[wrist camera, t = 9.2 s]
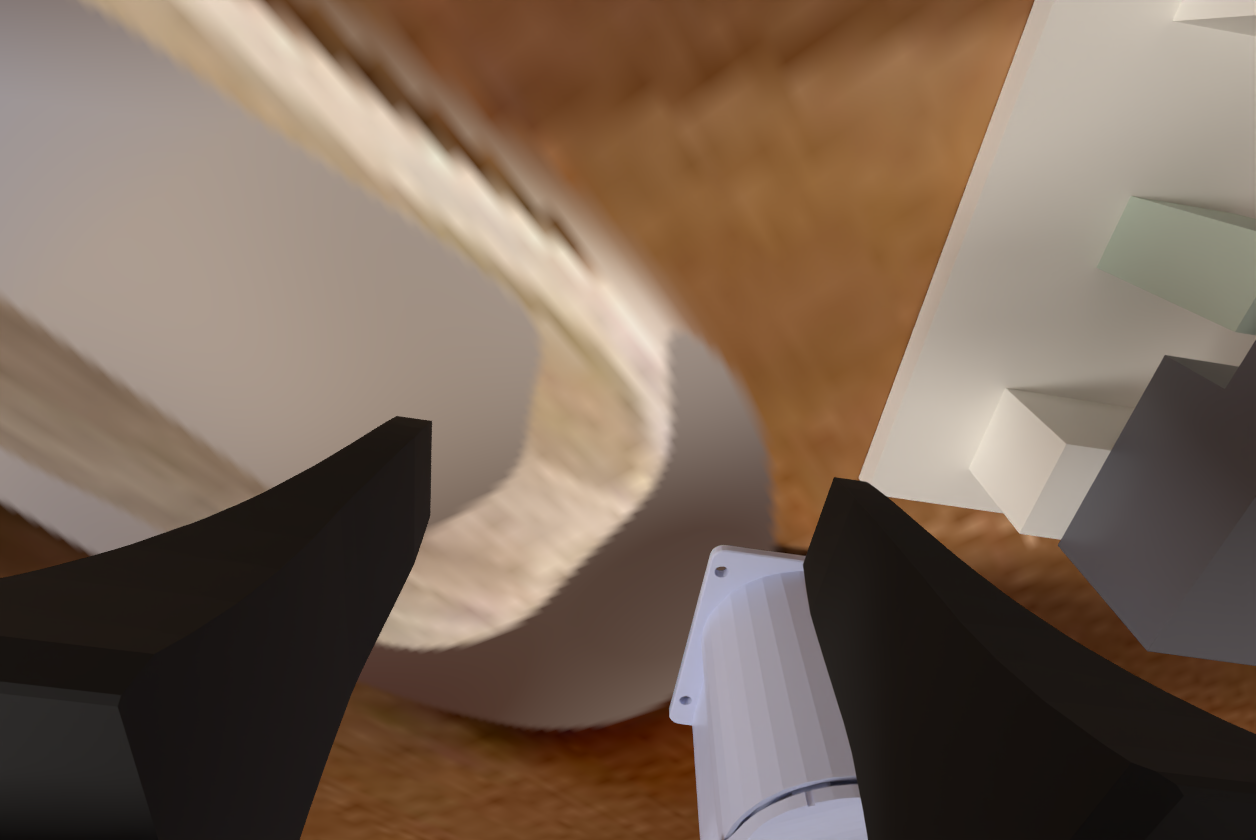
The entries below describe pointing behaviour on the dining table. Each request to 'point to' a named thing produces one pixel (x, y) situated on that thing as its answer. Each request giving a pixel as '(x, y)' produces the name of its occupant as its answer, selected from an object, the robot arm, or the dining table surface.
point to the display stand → (1081, 257)
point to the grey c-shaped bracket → (1179, 514)
